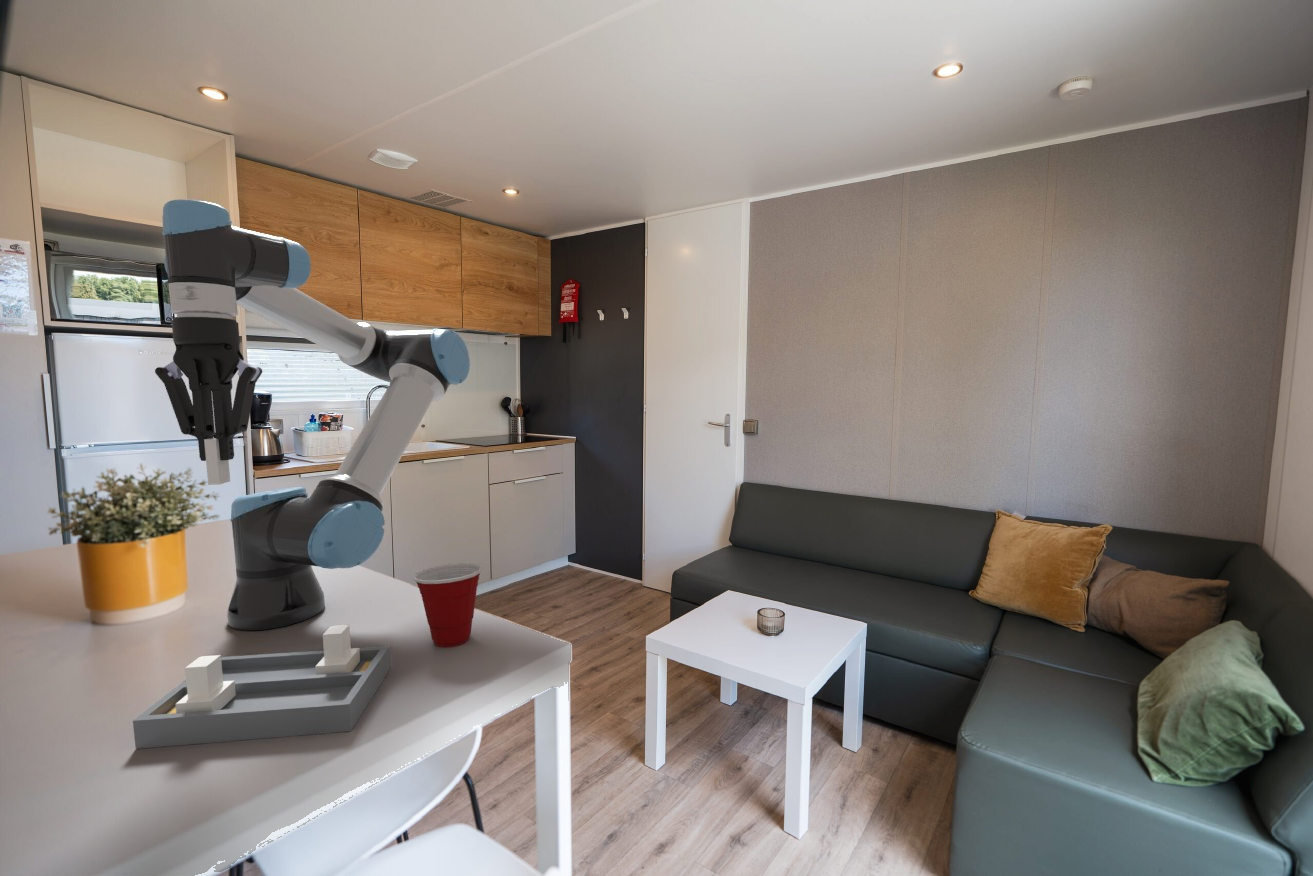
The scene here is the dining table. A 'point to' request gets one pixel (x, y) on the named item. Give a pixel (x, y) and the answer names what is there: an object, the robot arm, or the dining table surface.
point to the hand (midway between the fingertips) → (219, 482)
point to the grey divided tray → (269, 701)
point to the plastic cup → (449, 601)
